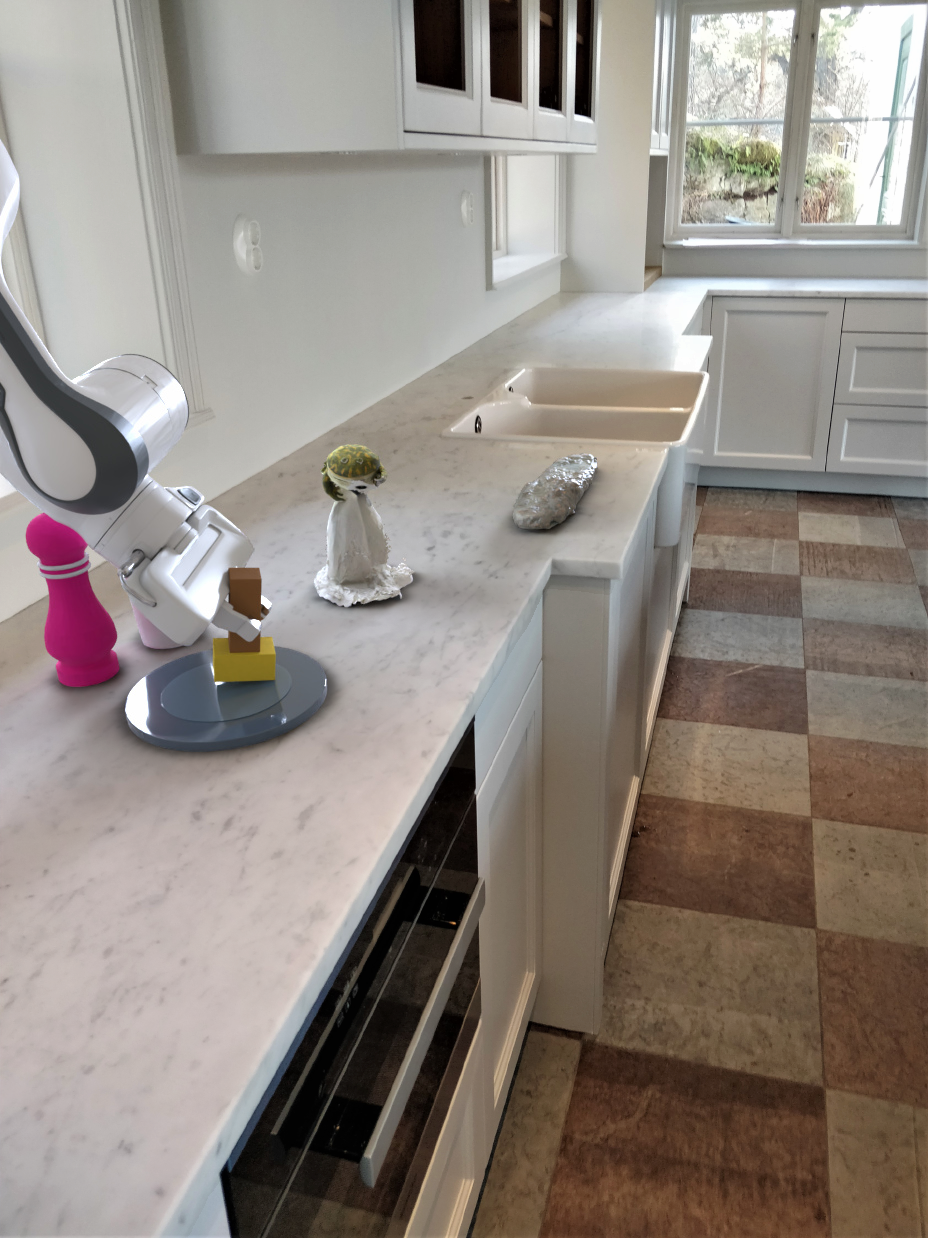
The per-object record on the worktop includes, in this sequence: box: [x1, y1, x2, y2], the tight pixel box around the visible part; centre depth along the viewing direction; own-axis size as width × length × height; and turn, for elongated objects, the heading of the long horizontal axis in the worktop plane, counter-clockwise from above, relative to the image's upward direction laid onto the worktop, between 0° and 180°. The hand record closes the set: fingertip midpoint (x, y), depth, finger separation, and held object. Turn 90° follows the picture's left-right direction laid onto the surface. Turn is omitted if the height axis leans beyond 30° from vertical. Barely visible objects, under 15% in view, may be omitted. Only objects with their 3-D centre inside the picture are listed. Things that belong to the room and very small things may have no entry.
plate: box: [124, 645, 328, 753], centre depth 97 cm, size 20×20×1 cm
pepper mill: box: [25, 512, 120, 688], centre depth 100 cm, size 7×7×20 cm
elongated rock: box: [511, 452, 599, 530], centre depth 152 cm, size 35×5×10 cm
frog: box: [313, 444, 415, 608], centre depth 119 cm, size 12×13×18 cm
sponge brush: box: [212, 567, 276, 682], centre depth 96 cm, size 6×4×11 cm, turn 105°
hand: (262, 623), depth 96 cm, fingers closed on sponge brush, 3 cm apart
